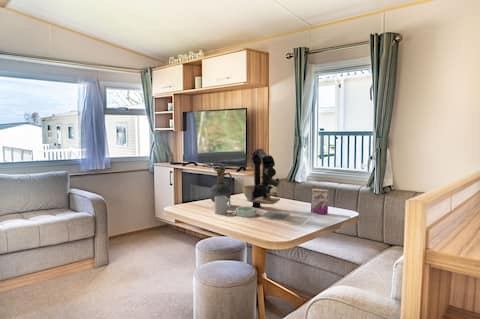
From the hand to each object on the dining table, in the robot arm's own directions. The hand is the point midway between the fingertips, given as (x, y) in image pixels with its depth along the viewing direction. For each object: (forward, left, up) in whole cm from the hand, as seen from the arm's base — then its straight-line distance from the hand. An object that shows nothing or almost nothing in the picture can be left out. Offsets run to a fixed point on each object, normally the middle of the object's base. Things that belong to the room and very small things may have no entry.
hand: (266, 198), depth 228 cm
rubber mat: (-2, +6, -12) cm, 13 cm away
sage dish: (+6, -12, -12) cm, 18 cm away
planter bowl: (-40, -28, -12) cm, 51 cm away
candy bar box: (-23, +30, -12) cm, 40 cm away
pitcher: (-11, -40, -12) cm, 43 cm away
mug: (+7, -29, -12) cm, 32 cm away
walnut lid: (0, 0, -2) cm, 2 cm away
